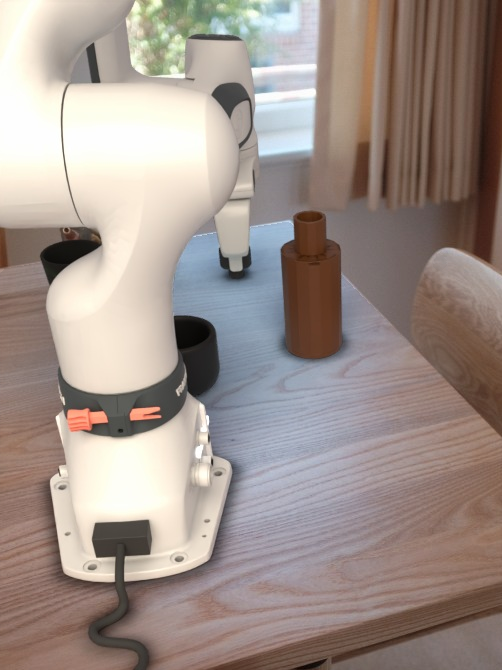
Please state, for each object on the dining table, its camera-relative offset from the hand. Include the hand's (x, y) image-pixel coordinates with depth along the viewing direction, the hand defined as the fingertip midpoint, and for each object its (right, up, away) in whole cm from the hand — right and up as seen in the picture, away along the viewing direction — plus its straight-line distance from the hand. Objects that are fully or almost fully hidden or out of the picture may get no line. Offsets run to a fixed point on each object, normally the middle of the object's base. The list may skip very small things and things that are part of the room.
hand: (235, 260), depth 132 cm
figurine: (-20, -8, -5) cm, 22 cm away
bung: (0, -2, +2) cm, 2 cm away
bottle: (+12, -15, -14) cm, 24 cm away
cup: (-18, -14, -12) cm, 26 cm away
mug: (-5, -22, -22) cm, 31 cm away
